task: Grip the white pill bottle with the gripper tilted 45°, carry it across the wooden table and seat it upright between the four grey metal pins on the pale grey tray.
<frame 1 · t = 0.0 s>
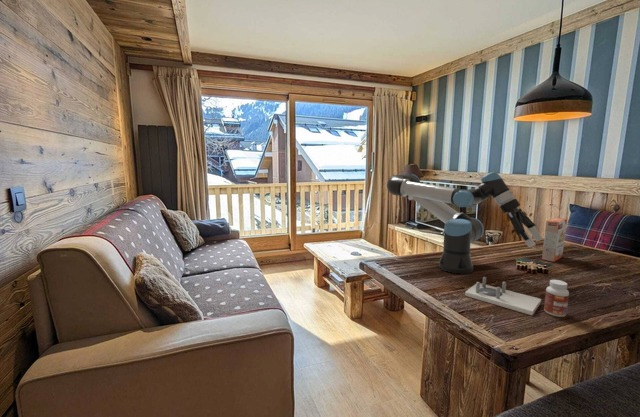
hand: (536, 243, 134), 15 cm above the table, tool tilted 35°, fingers open, 13 cm apart
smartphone: (534, 264, 154), on the table
pill bottle: (554, 313, 104), on the table
pin tray: (501, 299, 115), on the table
cracker box: (552, 258, 161), on the table
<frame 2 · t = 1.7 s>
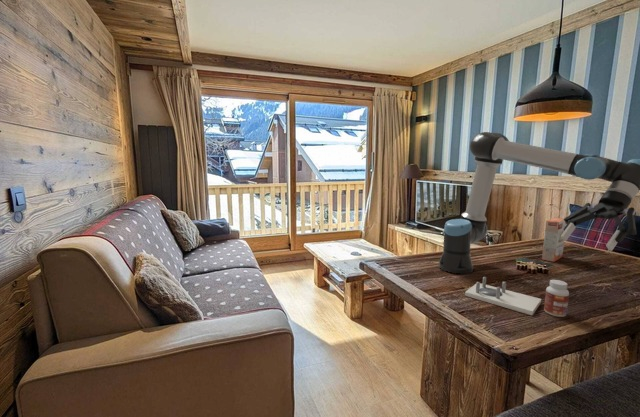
hand: (584, 243, 104), 23 cm above the table, tool tilted 45°, fingers open, 13 cm apart
nothing on the table moved.
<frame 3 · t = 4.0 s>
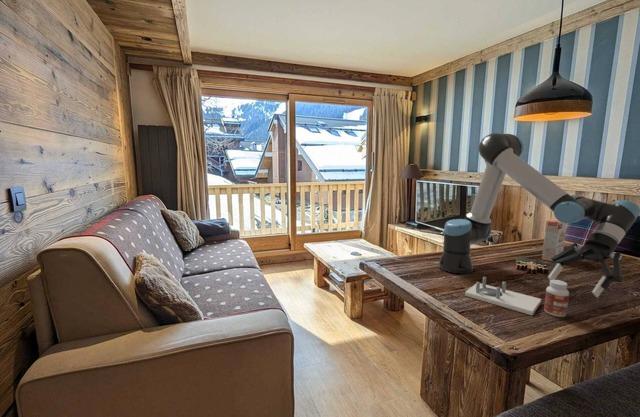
hand: (571, 286, 103), 9 cm above the table, tool tilted 45°, fingers open, 13 cm apart
nothing on the table moved.
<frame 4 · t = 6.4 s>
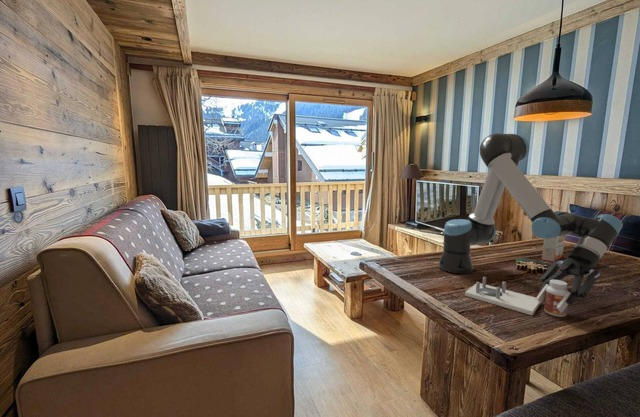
hand: (548, 305, 103), 3 cm above the table, tool tilted 45°, fingers closed on pill bottle, 6 cm apart
pill bottle: (554, 313, 104), on the table, touching gripper
everything else where it was.
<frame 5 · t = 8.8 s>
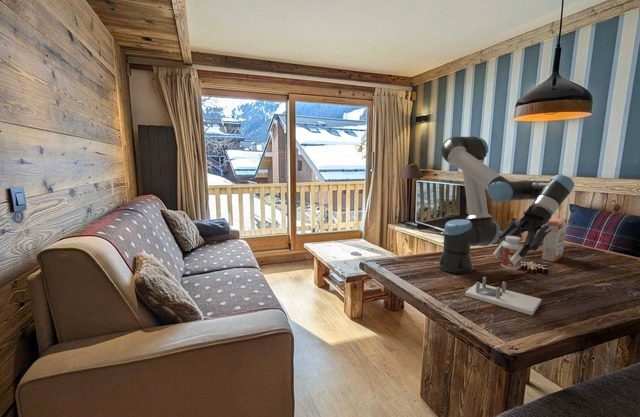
hand: (503, 259, 110), 17 cm above the table, tool tilted 45°, fingers closed on pill bottle, 6 cm apart
pill bottle: (510, 267, 112), point 13 cm above the table, touching gripper
everything else where it was.
when the fingers open (6 cm above the table, at t = 11.5 s): pill bottle drops 1 cm, resting on pin tray.
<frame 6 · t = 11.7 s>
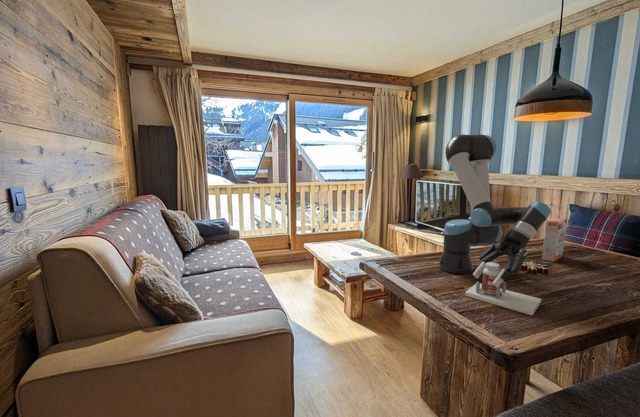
hand: (484, 280, 116), 7 cm above the table, tool tilted 45°, fingers open, 8 cm apart
pill bottle: (490, 292, 118), point 2 cm above the table, touching pin tray
everything else where it was.
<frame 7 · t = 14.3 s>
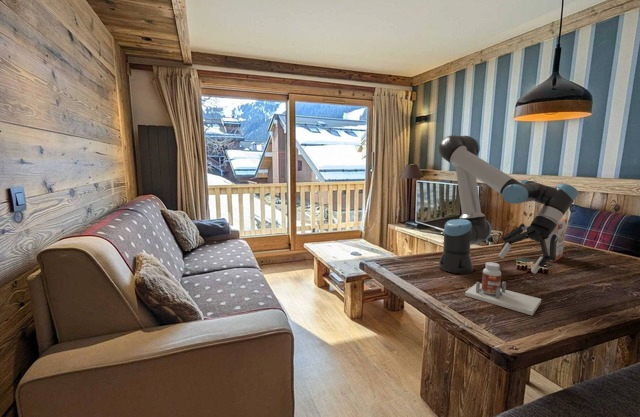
hand: (515, 264, 121), 11 cm above the table, tool tilted 35°, fingers open, 13 cm apart
nothing on the table moved.
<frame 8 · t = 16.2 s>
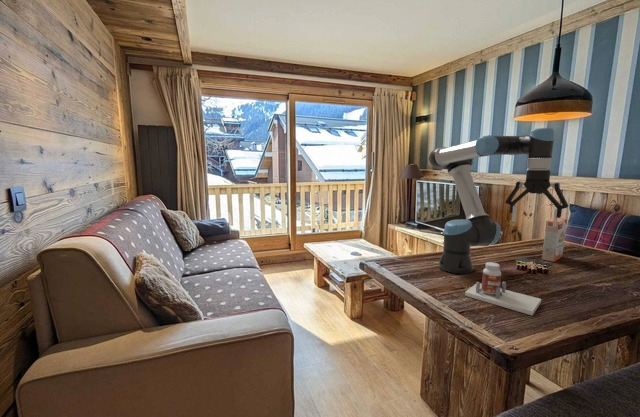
hand: (533, 223, 121), 27 cm above the table, tool pointing down, fingers open, 13 cm apart
nothing on the table moved.
at the end: pill bottle 0.0 cm from the target spot on the pin tray, point 1.5 cm above the pin tray's base; pill bottle tilted 0°; the gripper is holding nothing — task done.
